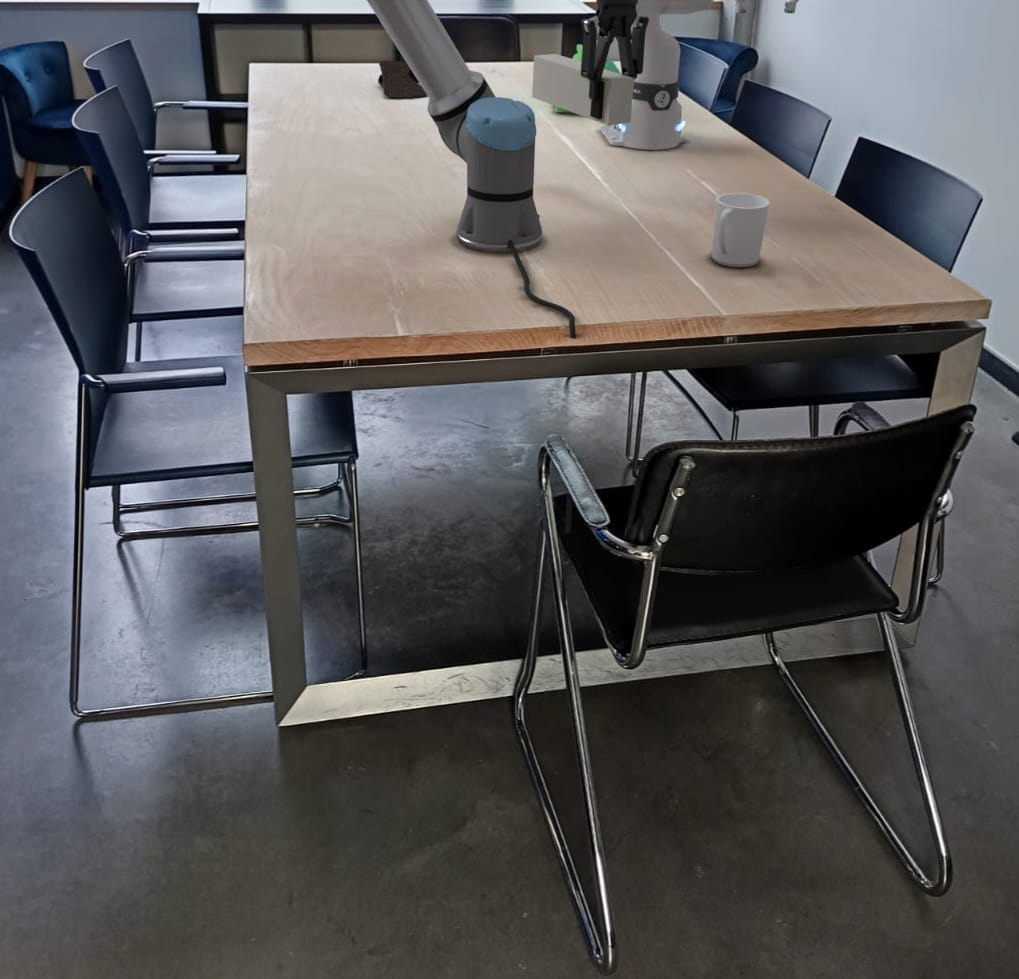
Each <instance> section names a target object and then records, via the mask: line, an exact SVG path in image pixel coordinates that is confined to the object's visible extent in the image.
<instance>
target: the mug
mask: <svg viewBox="0 0 1019 979" xmlns="http://www.w3.org/2000/svg"><path fill="white" fill-rule="evenodd" d="M769 209H770V200H769V199H768V198H766V197H764V196H761V195H758V194H753V193H748V192H747V193H746V192H727V193H722V194H719V195H717V196H716V198H715V204H714V218H713V232H712V246H711V258H712V261H713V262H715V263H716V264H719V265H721V266H724V267H728V268H729V267H732V268H748V267H749V268H750V267H753V266H755V265H757V264H758V263H759V261H760V255H761V250H762V246H763V240H764V234H765V229H766V225H767V219H768V214H769Z"/></svg>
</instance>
